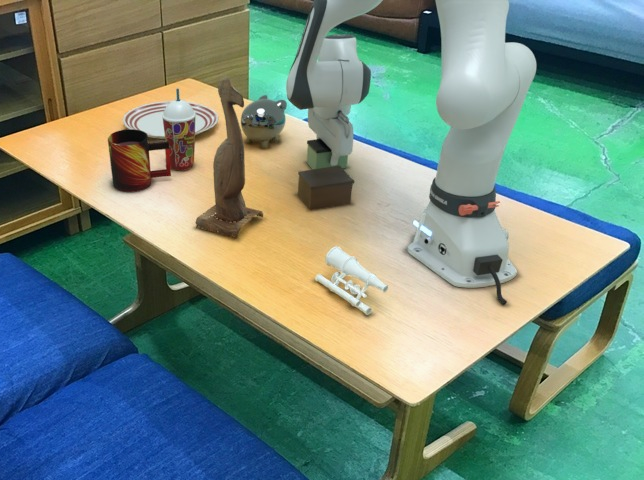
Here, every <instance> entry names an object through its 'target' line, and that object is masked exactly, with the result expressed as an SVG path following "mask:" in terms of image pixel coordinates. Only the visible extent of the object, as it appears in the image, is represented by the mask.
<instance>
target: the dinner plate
mask: <svg viewBox="0 0 644 480" xmlns="http://www.w3.org/2000/svg"><path fill="white" fill-rule="evenodd" d="M171 101H172V100H171ZM171 101H170V100H168V101H167V100H165V101H156V102H149V103H146V104H142V105H139V106H137V107H134V108H132V109H130V110H129V111H127V112H126V113H125V114H124V115H123V118H122V123H123V125H124V126H125V128H127V129H134V130H141V131H143V132H145V133H147V135H148V138H152V139H159V140H165V133H164V126H163V118H162V114H163V113H164V110H165V108H166V106H167V105H168V104H169V103H170V102H171ZM187 102H188V103H189V104H190V105H191V106H192V108H193V110H194V112H195V113H196V116H195V136H196V135H199V134H201V133H204V132H206V131H208V130H210V129H212V128H214V127H215V126H216V125H217V124H218V122H219V115H218V113H217V112H216V111H215V110H214V109H212V107H211V108H210V107H209V106H206V105H203V104H200V103H196V102H192V101H191V102H190V101H187Z"/></svg>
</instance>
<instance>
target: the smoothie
mask: <svg viewBox="0 0 644 480" xmlns="http://www.w3.org/2000/svg"><path fill="white" fill-rule="evenodd" d="M175 90H176V91H175V92H176V99H173V100H171V102H170V103H169V104H168V105H167V106H166V108H165V110H164V113H163V114H162V118H163V126H164V133H165V139H164V140H165V141H169V154H170V164H171V170H174V171H179V172H180V171H187V170H189V169H191V168H192V167H193V164H194V163H195V153H196V152H195V151H196V149H195V147H196V145H195V144H196V135H195V116H196V113H195V112H194V110H193V108H192V106H191V105H190V104H189V103H188V102H189V101H186V100H184V99H180V88H176V89H175Z"/></svg>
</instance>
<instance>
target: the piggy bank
mask: <svg viewBox="0 0 644 480" xmlns="http://www.w3.org/2000/svg"><path fill="white" fill-rule="evenodd" d="M268 97H269V96H268V95H267V94H263V95H261V96H260V97H259V98H258V99H257V100H254V101H253V102H251V103H249V104H248V105H247V106H245V108H244V109H243V110H242V113H241V116H240V128H241V131H242V132H243V133H242V134H243V135H244V136H245V137H246V138H245V139H246V143H247V144H252V143H253V142H254V143H259V144H260V147H261V149H267V148H268V146H269V143H270V141H271V143H273V144H276V143H278V142H279V135H280V134H281V133H282V132H283V130H284V128H285V125H286V119H287V118H286V113H285V111H286V110H287V106H288V104H287V101H286V100H285V99H279V100H274V99H271V98H268Z"/></svg>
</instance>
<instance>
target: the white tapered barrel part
mask: <svg viewBox="0 0 644 480" xmlns="http://www.w3.org/2000/svg"><path fill="white" fill-rule="evenodd" d="M324 262H325V264H326V265H327V266H328V267H332V268H334V269H336V270H338V271H335V272H333V274H332V276H331V279H330V280H329V279H328V278H326V277H324V276H323V274H321V273H317V274H316V276H315V278H314V281H315V282H317V283H320V284H321V285H323V287H326V288H327V289H328V290H329V291H330V292H331V293H335V295H338V296H339V297H341V298H342V299H344V300H345V301H346V302H348V303H349V304H350V305H351V306H352V307H355V308H357V309H358V310H360V311H361V312H362V313H363V314H365V315H366V316H368V315H371V314H372V311H373V308H372V307H371V306H369V305H367V304H365V303H363V302H362V301H361V300H360V299H361V298H362V297H363V298H365V299H366V298H367V297H368V295H367V294H366V293H365V292H366V291H367V289H368V288H369V287H370V286H371V287H374V288H376V289H378V290H380V291H381V292H383V293H386V292H387V291H388V290H389V285H387V284H385V283H384V282H382V281H381V279H379V278H378V277H377V275H376V274H375V273H372V272H370V270H368V269H367V268H364V267H363V265H361V263H359V262H358V259H357V257H356V256H353V255H352V256H351V255H350V254H349V253H347V252H345V251H344V250H342V248H341V247H340V246H337V245H336V246H334V247H333V246H332V247H331V248H330V249H329V250H328V251H327V253H326V254H325V259H324ZM345 276H346V277H347V276H351V277H353V278H356V279H358V280H359V281H361V282H363V283H365V284H364V285H363V287H362V288H361V286H360V285H359V284H356V283H355V284H354V281H353V280H351V279H350V280H347V281H346V280H345V279H344V278H345ZM340 283H341V284H343V285H344V287H343V289H342V288H341V287H339V285H340ZM347 291H350V292H349V293H348V292H347ZM355 295H357V296H356V297H354V296H355Z"/></svg>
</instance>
